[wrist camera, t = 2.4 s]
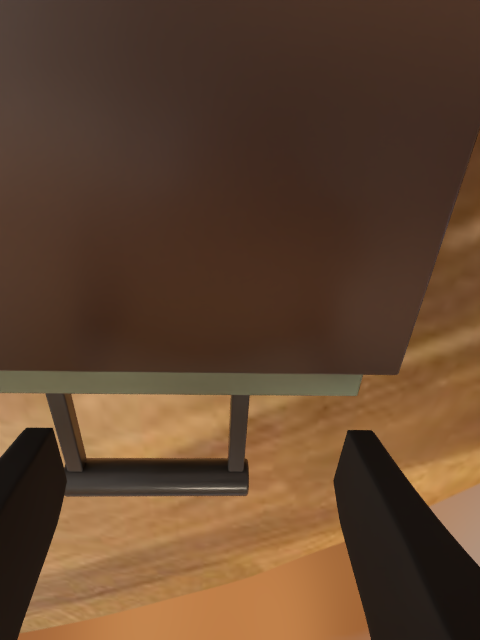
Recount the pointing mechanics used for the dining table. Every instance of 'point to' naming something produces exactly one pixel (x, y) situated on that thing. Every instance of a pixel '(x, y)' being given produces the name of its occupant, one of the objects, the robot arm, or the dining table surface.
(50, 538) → the robot arm
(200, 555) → the dining table surface
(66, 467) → the drawer
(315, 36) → the cabinet
